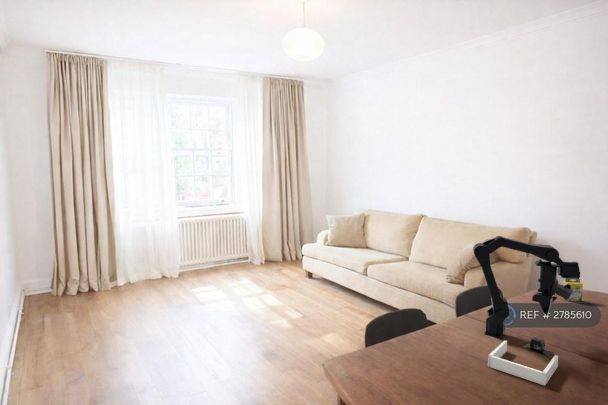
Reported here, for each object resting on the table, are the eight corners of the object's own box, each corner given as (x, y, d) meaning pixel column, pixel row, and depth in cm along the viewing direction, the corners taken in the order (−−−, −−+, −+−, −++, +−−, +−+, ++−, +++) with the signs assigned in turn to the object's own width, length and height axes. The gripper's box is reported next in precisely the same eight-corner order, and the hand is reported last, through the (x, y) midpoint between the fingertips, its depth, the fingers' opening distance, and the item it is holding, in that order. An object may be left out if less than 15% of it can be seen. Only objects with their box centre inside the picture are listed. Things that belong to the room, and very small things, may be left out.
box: (487, 366, 141) (488, 355, 141) (504, 350, 153) (504, 340, 153) (544, 385, 129) (545, 374, 128) (557, 366, 141) (558, 355, 140)
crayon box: (566, 301, 207) (567, 279, 206) (563, 299, 210) (565, 278, 209) (581, 301, 206) (583, 280, 205) (578, 299, 209) (580, 278, 208)
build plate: (558, 354, 151) (559, 342, 151) (550, 360, 147) (551, 348, 146) (524, 342, 161) (525, 331, 161) (516, 347, 157) (516, 336, 156)
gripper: (566, 286, 147) (564, 326, 149) (576, 276, 160) (574, 313, 162) (532, 280, 155) (531, 318, 157) (545, 271, 168) (543, 306, 170)
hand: (546, 314), depth 161 cm, fingers closed
